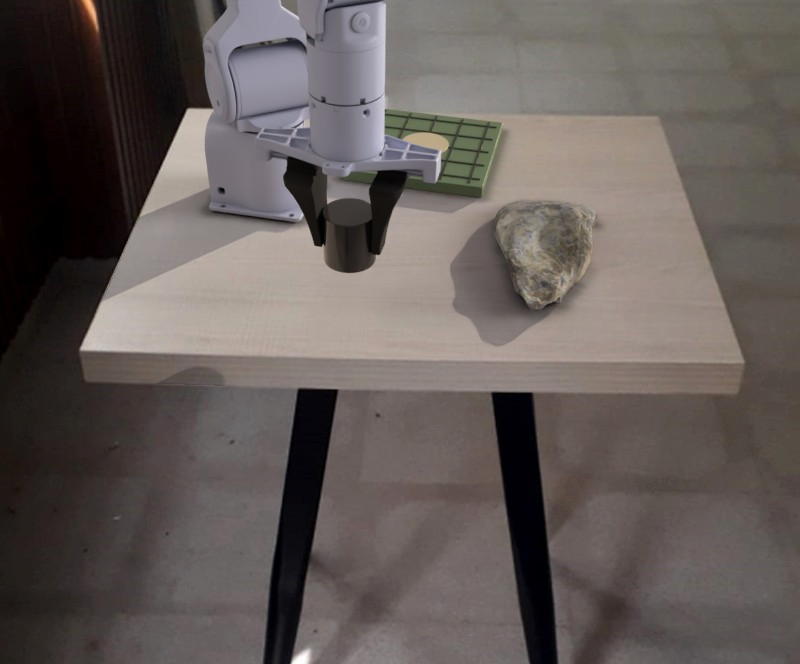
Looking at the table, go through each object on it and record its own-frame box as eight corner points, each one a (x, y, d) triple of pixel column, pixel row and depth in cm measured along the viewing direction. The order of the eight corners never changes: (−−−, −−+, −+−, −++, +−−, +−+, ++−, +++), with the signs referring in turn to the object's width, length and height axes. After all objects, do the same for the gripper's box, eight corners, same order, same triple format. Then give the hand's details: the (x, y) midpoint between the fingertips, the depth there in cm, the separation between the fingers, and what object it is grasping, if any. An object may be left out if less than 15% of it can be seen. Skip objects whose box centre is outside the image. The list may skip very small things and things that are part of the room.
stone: (490, 336, 84) (605, 337, 84) (491, 305, 82) (610, 306, 81) (493, 204, 98) (592, 205, 97) (493, 174, 95) (595, 174, 94)
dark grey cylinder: (317, 269, 80) (315, 221, 77) (331, 241, 83) (330, 194, 80) (368, 276, 79) (368, 229, 76) (381, 248, 83) (381, 201, 79)
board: (340, 179, 100) (339, 167, 99) (373, 117, 111) (373, 106, 110) (481, 197, 98) (482, 186, 97) (502, 132, 109) (503, 121, 108)
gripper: (235, 101, 69) (251, 258, 78) (431, 125, 67) (424, 283, 76) (266, 62, 74) (277, 214, 84) (449, 83, 72) (440, 236, 81)
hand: (349, 244), depth 80 cm, fingers closed on dark grey cylinder, 4 cm apart
